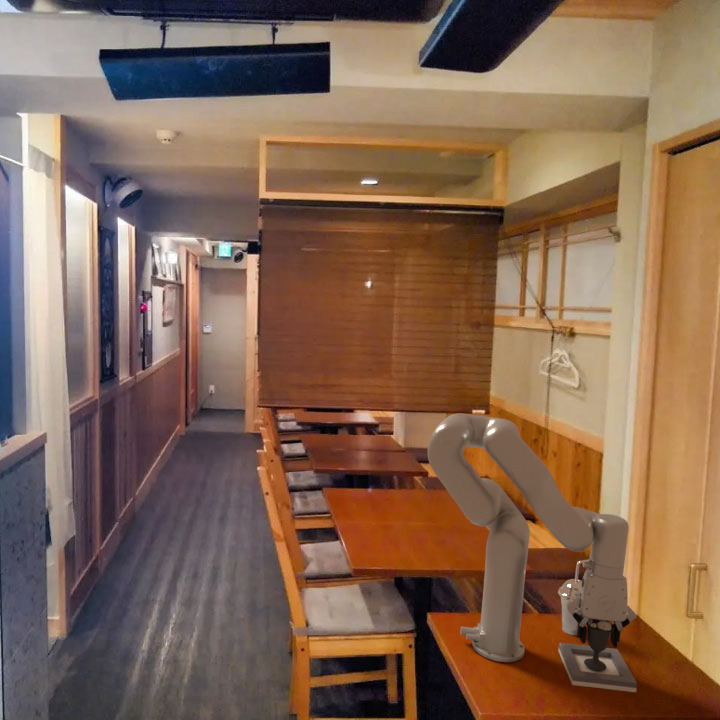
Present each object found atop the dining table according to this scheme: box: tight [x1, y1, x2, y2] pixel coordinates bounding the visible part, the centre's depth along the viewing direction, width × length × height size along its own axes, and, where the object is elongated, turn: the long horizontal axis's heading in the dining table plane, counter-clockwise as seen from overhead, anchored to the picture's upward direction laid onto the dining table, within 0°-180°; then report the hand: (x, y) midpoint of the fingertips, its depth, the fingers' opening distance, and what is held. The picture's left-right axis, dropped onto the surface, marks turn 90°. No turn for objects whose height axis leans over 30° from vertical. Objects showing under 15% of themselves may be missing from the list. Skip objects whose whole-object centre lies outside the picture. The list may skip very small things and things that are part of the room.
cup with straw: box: [557, 559, 589, 636], centre depth 166 cm, size 8×9×20 cm
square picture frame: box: [557, 642, 638, 693], centre depth 149 cm, size 14×14×2 cm
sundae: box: [584, 619, 615, 671], centre depth 148 cm, size 7×7×15 cm
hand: (597, 641), depth 148 cm, fingers closed on sundae, 6 cm apart
